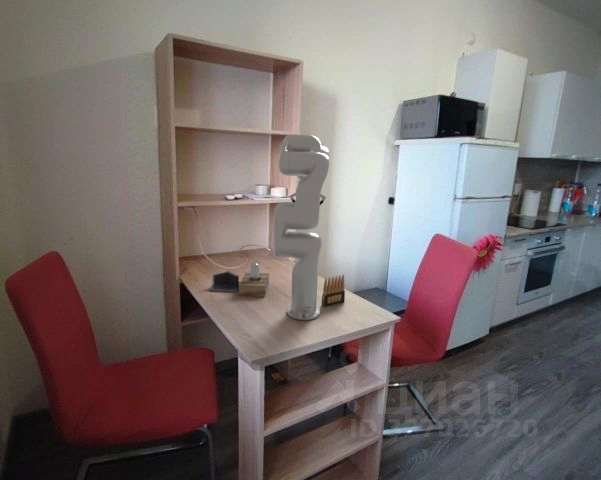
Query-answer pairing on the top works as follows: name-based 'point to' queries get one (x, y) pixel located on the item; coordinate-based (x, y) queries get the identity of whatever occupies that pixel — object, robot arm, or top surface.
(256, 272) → the axle
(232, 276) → the v block
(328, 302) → the ammunition clip
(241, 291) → the wooden block with hole
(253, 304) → the top surface
